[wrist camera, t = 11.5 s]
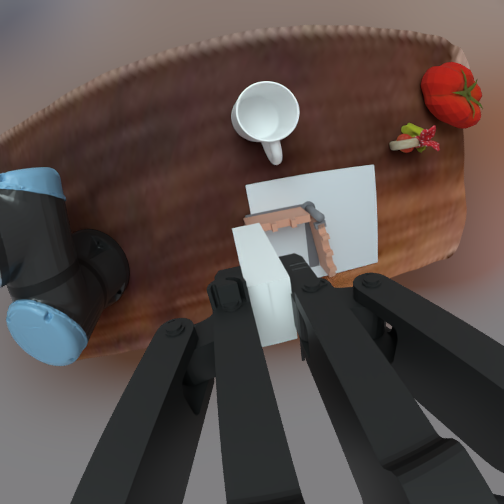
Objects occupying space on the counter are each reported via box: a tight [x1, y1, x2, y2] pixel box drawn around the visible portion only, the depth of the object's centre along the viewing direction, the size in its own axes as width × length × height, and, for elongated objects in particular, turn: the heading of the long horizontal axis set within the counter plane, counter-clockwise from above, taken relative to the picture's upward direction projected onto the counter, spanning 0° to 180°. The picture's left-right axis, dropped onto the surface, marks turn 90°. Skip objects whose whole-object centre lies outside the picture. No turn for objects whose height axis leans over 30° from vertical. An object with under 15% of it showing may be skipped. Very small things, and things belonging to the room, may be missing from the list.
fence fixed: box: [243, 205, 325, 232], centre depth 46 cm, size 12×1×7 cm, turn 100°
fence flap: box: [309, 216, 337, 277], centre depth 48 cm, size 10×2×6 cm, turn 19°
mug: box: [231, 81, 299, 165], centre depth 39 cm, size 12×8×10 cm
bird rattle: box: [389, 123, 440, 153], centre depth 42 cm, size 6×11×9 cm
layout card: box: [245, 165, 378, 278], centre depth 51 cm, size 25×20×1 cm
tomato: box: [421, 62, 482, 128], centre depth 38 cm, size 13×14×12 cm
